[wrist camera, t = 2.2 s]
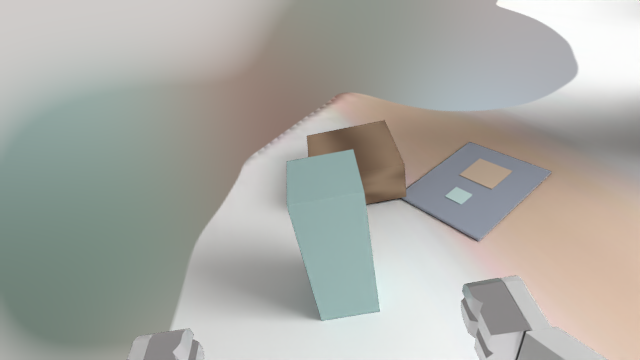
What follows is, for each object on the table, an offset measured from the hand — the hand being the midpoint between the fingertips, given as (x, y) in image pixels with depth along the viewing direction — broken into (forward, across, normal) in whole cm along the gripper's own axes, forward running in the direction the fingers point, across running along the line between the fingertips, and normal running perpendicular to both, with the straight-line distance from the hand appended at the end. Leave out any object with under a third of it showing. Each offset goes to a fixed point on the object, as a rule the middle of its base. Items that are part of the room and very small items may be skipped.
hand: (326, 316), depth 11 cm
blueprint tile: (+22, -14, +16) cm, 31 cm away
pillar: (+12, 0, +16) cm, 20 cm away
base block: (+26, -3, +16) cm, 31 cm away
